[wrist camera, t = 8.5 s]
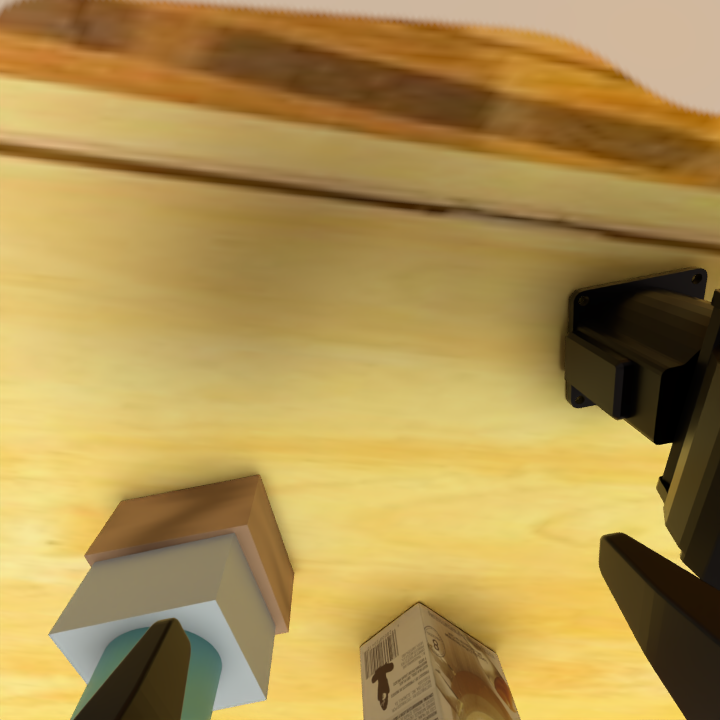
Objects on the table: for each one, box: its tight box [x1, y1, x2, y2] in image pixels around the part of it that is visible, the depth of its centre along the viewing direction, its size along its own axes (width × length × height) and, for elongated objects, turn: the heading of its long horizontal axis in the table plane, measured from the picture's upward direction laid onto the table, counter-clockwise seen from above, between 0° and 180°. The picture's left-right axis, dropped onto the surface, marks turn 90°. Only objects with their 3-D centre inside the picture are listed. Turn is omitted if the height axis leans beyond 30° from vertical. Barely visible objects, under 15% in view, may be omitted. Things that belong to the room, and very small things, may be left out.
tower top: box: [48, 533, 276, 711], centre depth 19 cm, size 7×7×4 cm
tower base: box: [84, 475, 294, 635], centre depth 23 cm, size 8×8×4 cm
